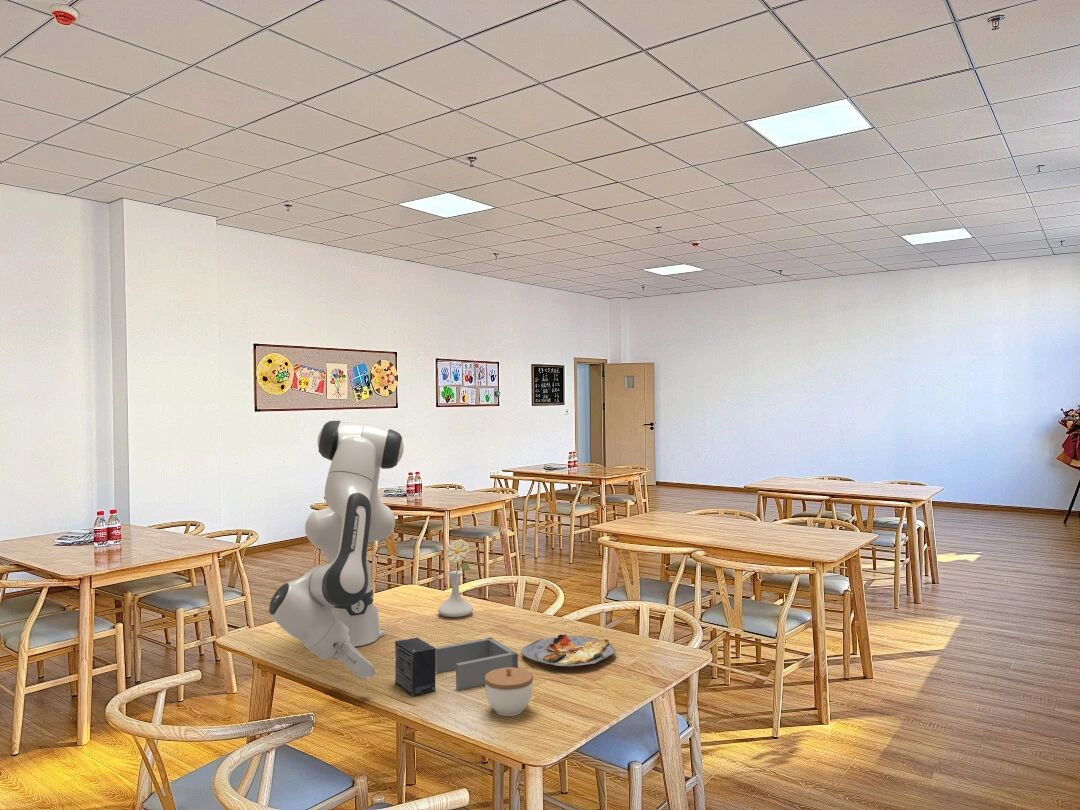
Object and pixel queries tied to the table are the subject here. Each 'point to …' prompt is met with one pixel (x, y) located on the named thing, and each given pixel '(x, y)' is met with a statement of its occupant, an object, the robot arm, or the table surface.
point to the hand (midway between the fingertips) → (372, 673)
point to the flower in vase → (456, 582)
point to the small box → (415, 666)
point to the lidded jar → (508, 690)
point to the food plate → (568, 650)
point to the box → (474, 660)
